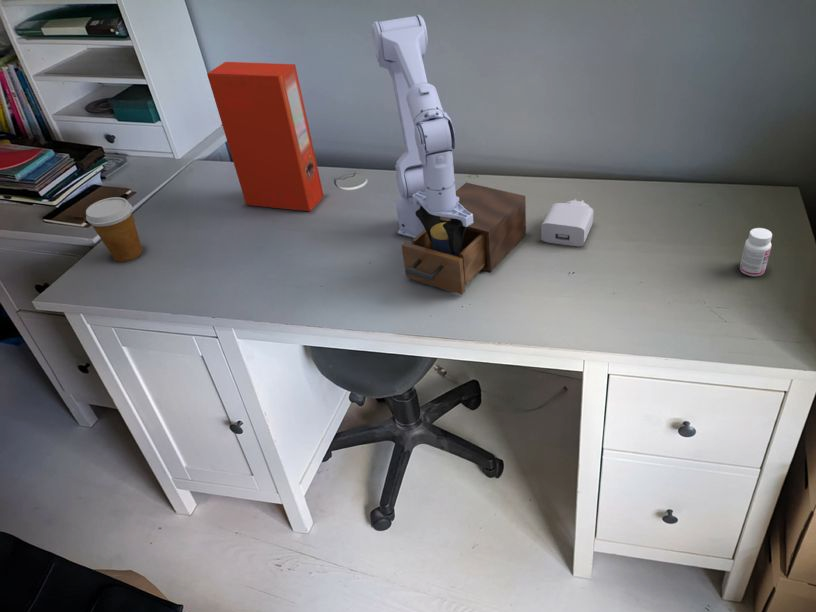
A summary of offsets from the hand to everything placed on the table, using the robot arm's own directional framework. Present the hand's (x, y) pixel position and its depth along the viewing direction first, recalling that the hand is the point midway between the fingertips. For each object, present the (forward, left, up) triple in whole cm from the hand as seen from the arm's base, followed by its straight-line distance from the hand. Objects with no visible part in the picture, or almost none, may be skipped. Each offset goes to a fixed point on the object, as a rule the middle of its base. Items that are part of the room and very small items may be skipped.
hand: (445, 245), depth 140 cm
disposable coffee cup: (-71, -25, -7) cm, 75 cm away
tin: (0, 0, -1) cm, 1 cm away
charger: (+15, +27, -7) cm, 32 cm away
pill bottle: (+53, +27, -7) cm, 61 cm away
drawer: (0, -1, -6) cm, 6 cm away
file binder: (-54, +9, -7) cm, 55 cm away
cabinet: (0, +12, -7) cm, 14 cm away
